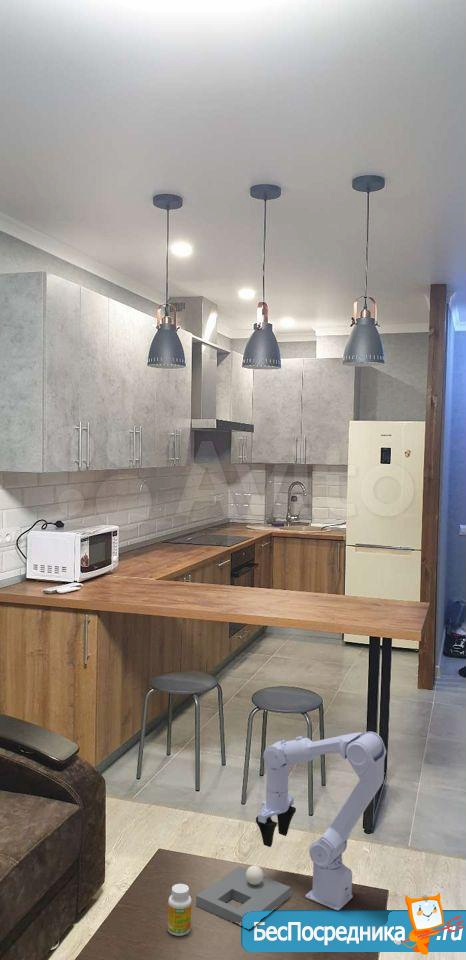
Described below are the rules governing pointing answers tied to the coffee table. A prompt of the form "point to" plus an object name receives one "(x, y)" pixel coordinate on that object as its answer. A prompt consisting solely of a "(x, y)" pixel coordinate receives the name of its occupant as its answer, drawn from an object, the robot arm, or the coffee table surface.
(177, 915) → the supplement bottle
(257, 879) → the ball
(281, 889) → the plate
